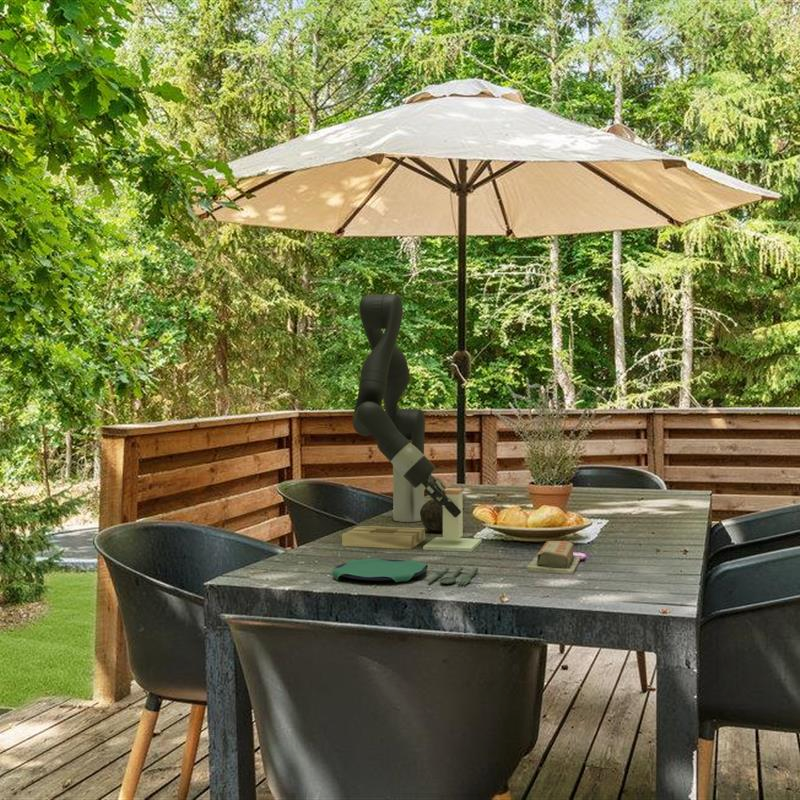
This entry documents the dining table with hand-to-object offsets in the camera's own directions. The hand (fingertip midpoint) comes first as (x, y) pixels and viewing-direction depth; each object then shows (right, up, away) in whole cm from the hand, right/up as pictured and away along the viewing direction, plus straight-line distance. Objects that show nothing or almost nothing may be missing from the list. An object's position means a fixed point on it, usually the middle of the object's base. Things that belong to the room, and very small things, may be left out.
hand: (459, 513), depth 231 cm
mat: (-2, -8, +1) cm, 8 cm away
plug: (-2, -6, 0) cm, 6 cm away
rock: (-4, -8, +23) cm, 25 cm away
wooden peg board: (-19, -8, +5) cm, 21 cm away
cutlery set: (-14, -10, -36) cm, 40 cm away
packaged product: (+20, -9, -25) cm, 33 cm away
